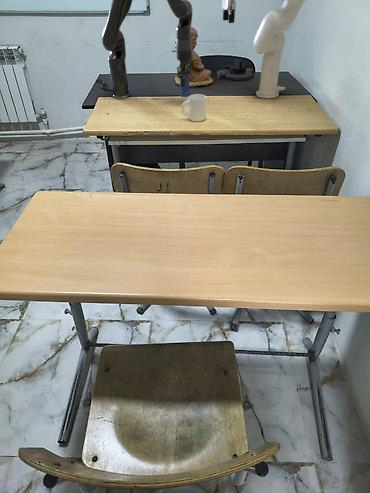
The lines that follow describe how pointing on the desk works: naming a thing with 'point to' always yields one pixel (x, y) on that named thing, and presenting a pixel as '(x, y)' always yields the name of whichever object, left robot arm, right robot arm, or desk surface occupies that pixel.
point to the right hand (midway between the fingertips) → (228, 21)
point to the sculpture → (197, 66)
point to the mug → (195, 107)
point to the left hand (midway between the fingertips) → (184, 84)
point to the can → (185, 87)
